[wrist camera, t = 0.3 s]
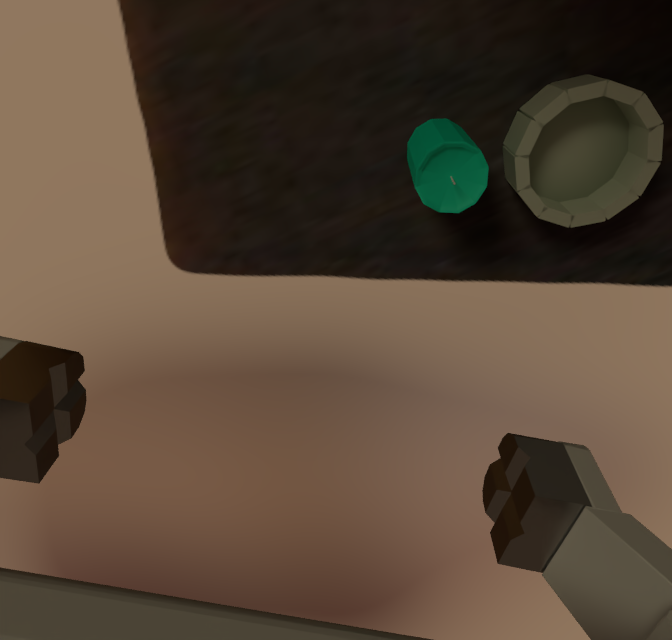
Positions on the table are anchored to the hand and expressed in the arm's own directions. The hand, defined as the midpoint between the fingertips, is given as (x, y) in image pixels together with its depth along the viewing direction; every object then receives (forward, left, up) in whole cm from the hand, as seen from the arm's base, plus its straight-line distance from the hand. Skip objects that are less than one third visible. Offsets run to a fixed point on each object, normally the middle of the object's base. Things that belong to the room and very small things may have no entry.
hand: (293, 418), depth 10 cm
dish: (-2, +21, -46) cm, 50 cm away
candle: (+2, +9, -46) cm, 47 cm away
